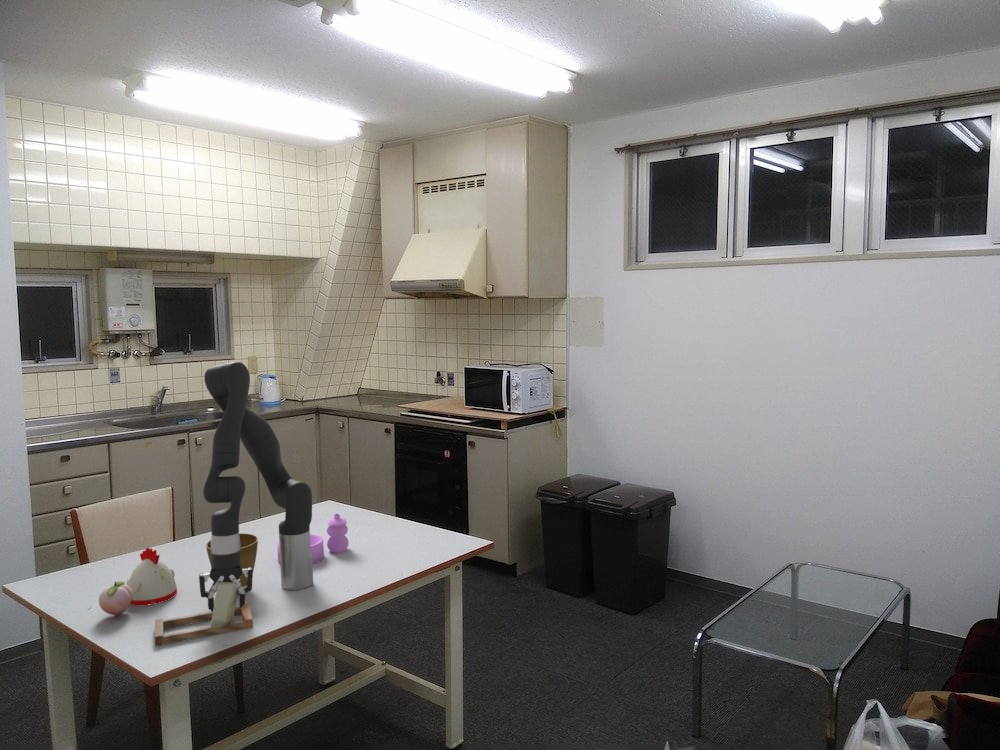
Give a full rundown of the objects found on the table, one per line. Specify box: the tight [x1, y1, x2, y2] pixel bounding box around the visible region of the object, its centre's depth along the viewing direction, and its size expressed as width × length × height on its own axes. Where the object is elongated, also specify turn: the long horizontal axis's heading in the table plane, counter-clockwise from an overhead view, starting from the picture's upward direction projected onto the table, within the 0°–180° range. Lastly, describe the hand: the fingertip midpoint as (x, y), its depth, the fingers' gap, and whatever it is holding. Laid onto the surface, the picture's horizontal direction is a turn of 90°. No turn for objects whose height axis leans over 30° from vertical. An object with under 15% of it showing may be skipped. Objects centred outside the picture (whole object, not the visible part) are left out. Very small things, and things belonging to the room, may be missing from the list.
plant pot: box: [205, 532, 259, 596], centre depth 223 cm, size 15×15×16 cm
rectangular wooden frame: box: [154, 603, 254, 647], centre depth 198 cm, size 24×11×2 cm, turn 115°
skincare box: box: [209, 579, 240, 627], centre depth 200 cm, size 6×4×12 cm
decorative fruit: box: [98, 580, 133, 617], centre depth 207 cm, size 9×8×10 cm
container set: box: [276, 513, 350, 565], centre depth 254 cm, size 25×15×13 cm, turn 127°
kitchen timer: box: [126, 547, 178, 606], centre depth 220 cm, size 14×14×15 cm
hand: (226, 608), depth 200 cm, fingers open, 7 cm apart
